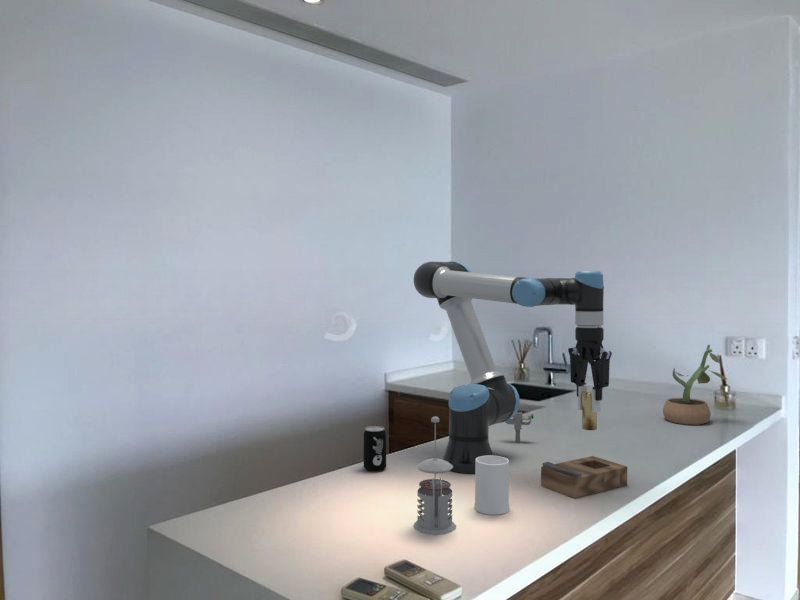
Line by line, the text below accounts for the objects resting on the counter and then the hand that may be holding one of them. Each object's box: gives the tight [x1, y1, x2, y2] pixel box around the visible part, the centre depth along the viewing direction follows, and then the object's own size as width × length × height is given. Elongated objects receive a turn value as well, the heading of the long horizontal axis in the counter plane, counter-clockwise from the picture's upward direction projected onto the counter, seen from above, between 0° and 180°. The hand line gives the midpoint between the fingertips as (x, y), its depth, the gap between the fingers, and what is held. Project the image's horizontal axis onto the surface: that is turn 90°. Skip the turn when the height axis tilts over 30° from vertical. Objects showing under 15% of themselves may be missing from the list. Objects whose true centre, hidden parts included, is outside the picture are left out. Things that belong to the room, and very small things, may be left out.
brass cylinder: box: [581, 391, 598, 431], centre depth 181 cm, size 4×4×10 cm
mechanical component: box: [504, 411, 534, 444], centre depth 220 cm, size 3×10×10 cm, turn 79°
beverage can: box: [363, 425, 387, 473], centre depth 190 cm, size 7×7×12 cm
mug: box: [473, 454, 511, 516], centre depth 159 cm, size 12×8×12 cm
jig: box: [540, 455, 628, 499], centre depth 176 cm, size 20×12×6 cm, turn 122°
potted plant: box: [662, 344, 728, 426], centre depth 250 cm, size 22×18×30 cm
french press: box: [412, 415, 457, 536], centre depth 146 cm, size 10×12×25 cm
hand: (589, 410), depth 181 cm, fingers closed on brass cylinder, 4 cm apart
